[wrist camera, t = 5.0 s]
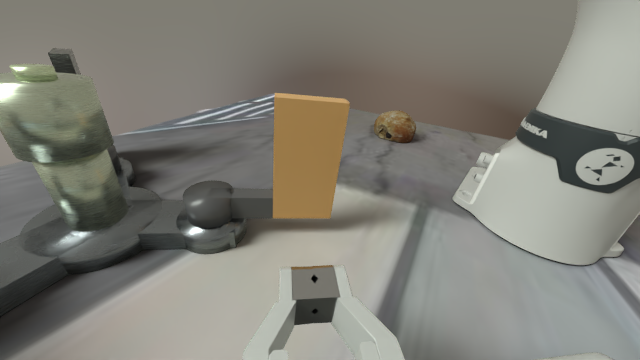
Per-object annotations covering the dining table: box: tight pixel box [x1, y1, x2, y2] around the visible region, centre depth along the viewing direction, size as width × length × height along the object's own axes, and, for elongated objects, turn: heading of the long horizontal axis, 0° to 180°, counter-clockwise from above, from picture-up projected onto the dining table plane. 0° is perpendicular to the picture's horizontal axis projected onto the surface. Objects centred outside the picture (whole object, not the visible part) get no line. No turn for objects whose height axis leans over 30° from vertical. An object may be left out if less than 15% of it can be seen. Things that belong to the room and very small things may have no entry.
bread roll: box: [374, 111, 416, 143], centre depth 58 cm, size 10×10×8 cm
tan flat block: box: [183, 93, 350, 228], centre depth 22 cm, size 14×4×12 cm, turn 98°
